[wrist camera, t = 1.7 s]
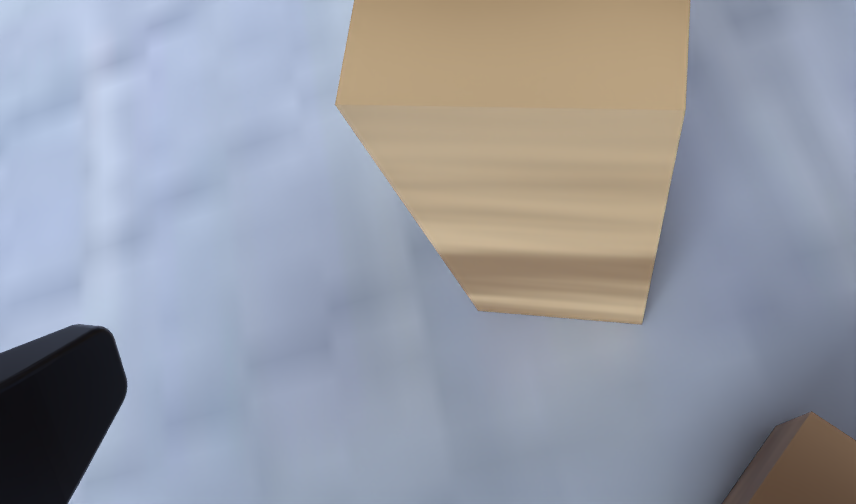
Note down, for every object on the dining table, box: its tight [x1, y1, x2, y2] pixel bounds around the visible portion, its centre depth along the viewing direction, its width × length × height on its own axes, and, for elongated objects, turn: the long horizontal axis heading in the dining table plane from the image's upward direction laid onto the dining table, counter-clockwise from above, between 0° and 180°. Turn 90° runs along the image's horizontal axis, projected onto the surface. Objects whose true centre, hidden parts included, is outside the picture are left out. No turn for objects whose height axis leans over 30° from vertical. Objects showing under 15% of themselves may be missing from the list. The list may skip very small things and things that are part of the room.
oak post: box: [335, 0, 690, 324], centre depth 16 cm, size 4×4×12 cm
